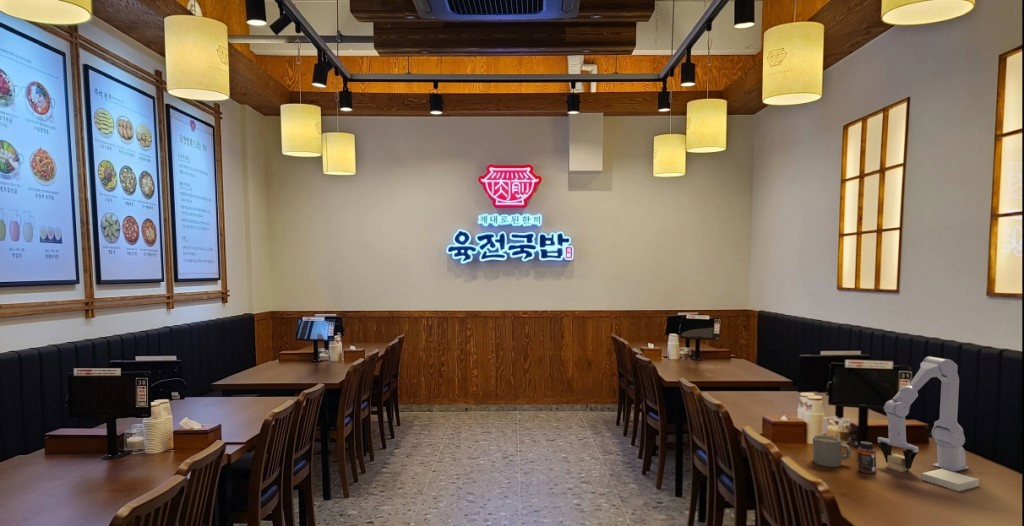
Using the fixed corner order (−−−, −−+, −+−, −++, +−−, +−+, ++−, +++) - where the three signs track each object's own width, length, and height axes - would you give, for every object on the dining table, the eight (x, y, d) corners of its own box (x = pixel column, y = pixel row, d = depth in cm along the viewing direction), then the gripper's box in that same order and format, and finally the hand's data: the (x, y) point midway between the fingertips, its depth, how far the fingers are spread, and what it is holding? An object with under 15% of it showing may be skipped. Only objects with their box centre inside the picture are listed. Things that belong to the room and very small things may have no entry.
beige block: (941, 476, 204) (941, 468, 204) (978, 487, 192) (978, 479, 193) (922, 481, 199) (921, 473, 199) (958, 492, 188) (958, 484, 188)
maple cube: (896, 466, 214) (895, 453, 214) (909, 470, 209) (908, 457, 210) (888, 468, 212) (887, 455, 212) (901, 472, 208) (900, 459, 208)
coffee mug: (812, 464, 218) (812, 439, 218) (814, 457, 226) (813, 433, 226) (851, 470, 210) (850, 444, 211) (851, 462, 219) (850, 438, 219)
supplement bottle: (879, 474, 205) (878, 445, 205) (862, 473, 206) (861, 444, 207) (872, 469, 211) (871, 440, 211) (855, 468, 212) (854, 440, 212)
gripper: (872, 427, 217) (873, 461, 216) (909, 437, 203) (911, 472, 203) (883, 425, 219) (884, 458, 219) (921, 434, 206) (923, 470, 205)
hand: (898, 465), depth 211 cm, fingers open, 7 cm apart
